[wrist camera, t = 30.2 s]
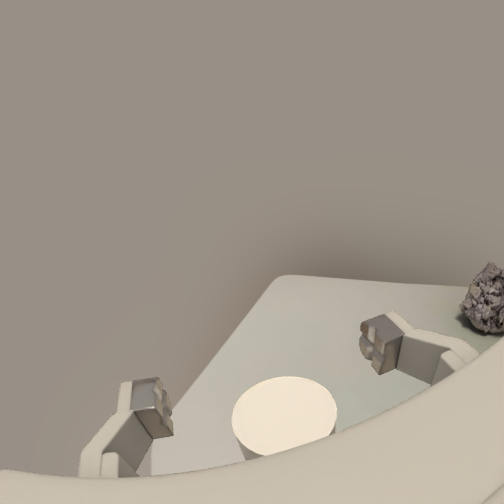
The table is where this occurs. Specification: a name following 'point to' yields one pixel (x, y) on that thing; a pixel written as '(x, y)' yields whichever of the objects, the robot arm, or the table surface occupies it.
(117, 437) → the robot arm
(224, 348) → the table surface
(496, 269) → the mineral specimen
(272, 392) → the tube
